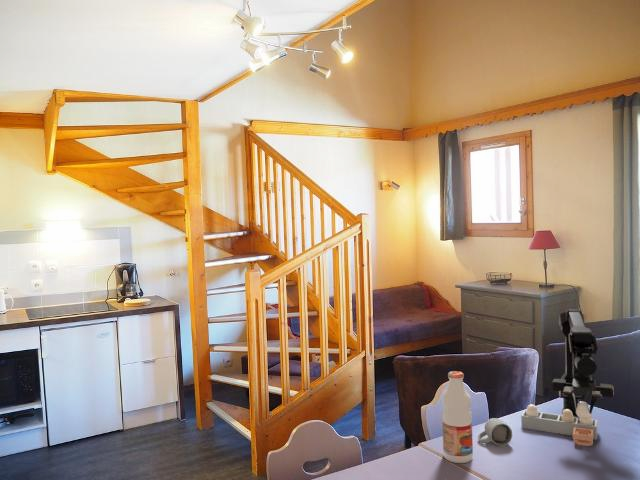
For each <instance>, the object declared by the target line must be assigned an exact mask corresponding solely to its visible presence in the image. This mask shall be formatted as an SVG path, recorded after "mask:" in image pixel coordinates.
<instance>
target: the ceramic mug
mask: <svg viewBox="0 0 640 480" xmlns="http://www.w3.org/2000/svg"><path fill="white" fill-rule="evenodd" d="M486 436H487V437H486ZM484 437H486V438H484ZM482 438H483V439H482ZM512 439H513V431H512V429H511V427H510V426H509V425H508V424H507V423H505V422H504V421H502V420H501V419H499V418H495V417H491V418H490V419H488V420H487V421H486V422H485V423H484V431H482V432H480V433H479V434H478V435H477V440H478V442H479V443H480V444H489V443H491V442H492V443H493V444H495V446H499V447H503V446H507V445H508V444H510V443H511V441H512Z"/></svg>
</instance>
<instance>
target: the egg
mask: <svg viewBox="0 0 640 480" xmlns="http://www.w3.org/2000/svg"><path fill="white" fill-rule="evenodd" d="M576 414H577V415H578V416H577V417H578V418H587V417H589V415H590V407H589V404H588V403H587V402H586V401H583V400H581V401H580V400H579V403H578V404H577V408H576Z"/></svg>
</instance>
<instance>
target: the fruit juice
mask: <svg viewBox="0 0 640 480" xmlns="http://www.w3.org/2000/svg"><path fill="white" fill-rule="evenodd" d="M464 376H465V374H464V373H463V372H462V371H457V370H453V371H452V370H451V371H449V372H448V373H447V377H448V385H447V387H446V390H445V391H444V392H443V394H442V399H441V401H442V405H443V410H442V414H441V415H442V416H441V417H442V419H441V420H442V454H443V458H444V459H446V460H447V461H448V462H450V463H454V464H466V463H469V462H471V461H472V460H473V458H474V457H473V455H474V453H473V451H474V450H473V449H474V448H473V445H474V444H473V419H472V418H473V417H472V412H471V408H470V407H471V404H472V400H471V395H470V394H469V392H468V391H467V390H466V388H465V384H464V380H463V379H464V378H465V377H464Z"/></svg>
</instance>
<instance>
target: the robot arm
mask: <svg viewBox="0 0 640 480" xmlns="http://www.w3.org/2000/svg"><path fill="white" fill-rule="evenodd" d="M558 325H559V327H560V330H561V332H562V334H563V335H564V338H565V339H564V341H565V342H564V344H565V347H564V348H565V349H564V351H565V353H564V354H565V359H564V360H565V372H564V373H563V374H562V376H561V378H554V379H553V380H552V383H551V391H555V392H558V395H559V398H560V399H563V407H562V410H561V413H562V412H563V410H565V409H569V410H571V411H572V413H573V416H574V417H579V416H578V415H577V414H576V408H577V404H578V403H579V402H580V400H581V401H583V400H585V399H586V396H589V395H590V392H591V398H590V404H589V405H590V406H589V410H590V414H591V415H592V413H593V409H594V408H595V404H596V402H597V400H598V399H602V397H603V398H604V397H605V398H614V396H615V395H614V394H615V390H614V389H615V388H614V385H612V384H609V383H599V385H600V386H597V385H596V380H592V379H593V378H592V375H594V374H595V373H596V371H597V364H596V362H595V361H594V359H593V357H592V354H595V355H597V351H598V348H599V347H598V343H597V338H596V337H595V334H593V332H592V330H591V329H590V328H588V327H587V326H585V315H584V314H583V312H582V310H580V309H566V310H565V311H564V312H562V313H560V314H559V316H558Z"/></svg>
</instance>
